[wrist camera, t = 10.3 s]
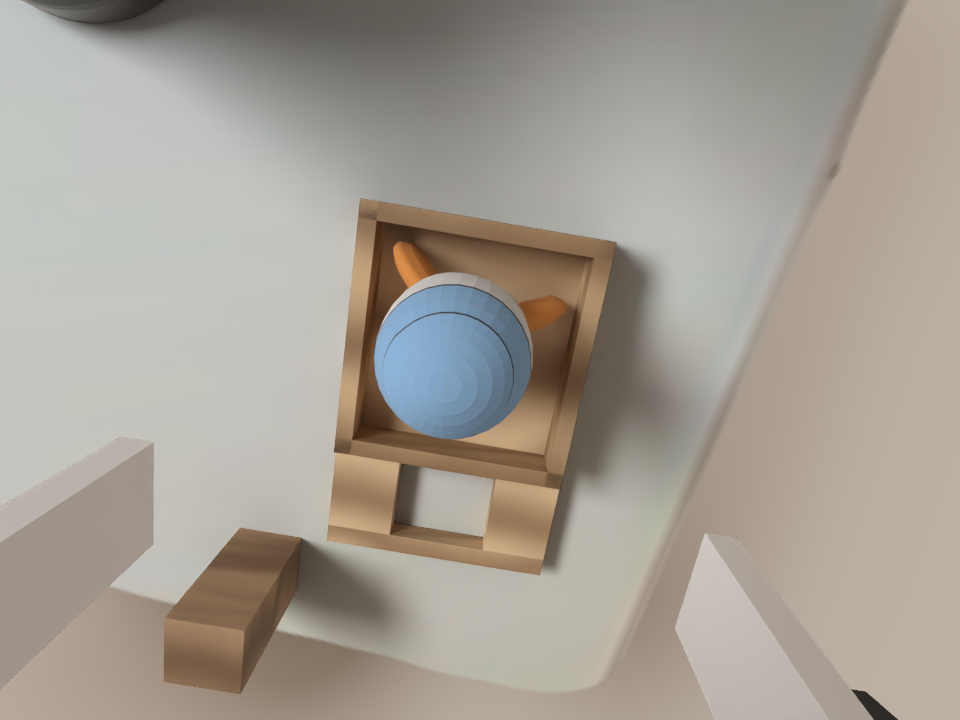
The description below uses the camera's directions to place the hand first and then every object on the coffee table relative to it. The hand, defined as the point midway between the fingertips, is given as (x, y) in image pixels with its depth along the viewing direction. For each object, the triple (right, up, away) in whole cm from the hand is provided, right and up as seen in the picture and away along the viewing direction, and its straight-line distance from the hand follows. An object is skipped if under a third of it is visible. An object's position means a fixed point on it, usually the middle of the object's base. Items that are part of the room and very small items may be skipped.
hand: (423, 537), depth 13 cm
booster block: (-14, -11, +26) cm, 32 cm away
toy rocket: (0, +6, +20) cm, 21 cm away
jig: (0, +2, +23) cm, 23 cm away
